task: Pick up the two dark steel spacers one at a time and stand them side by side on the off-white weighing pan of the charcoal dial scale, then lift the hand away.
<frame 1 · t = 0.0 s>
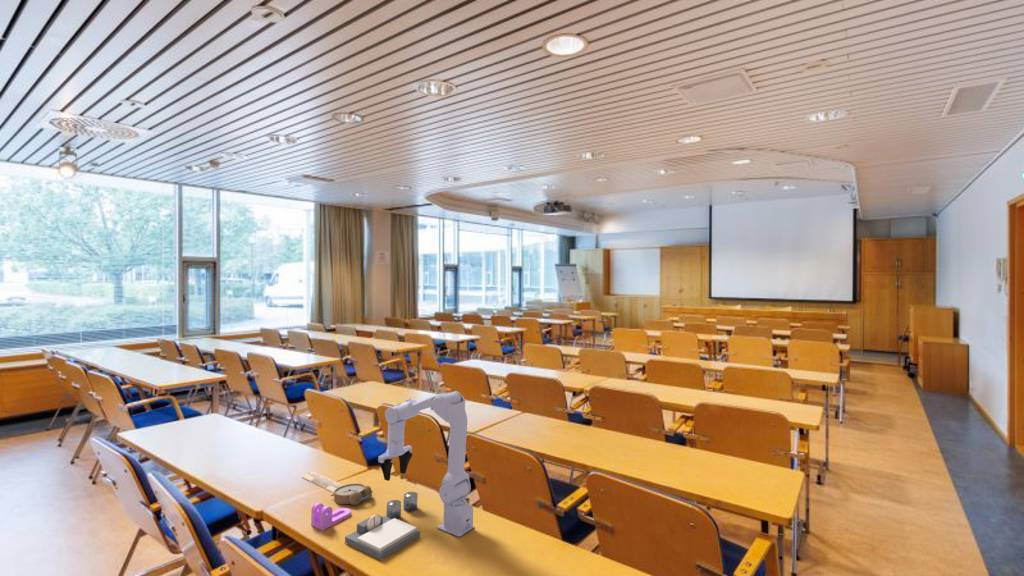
hand: (395, 476, 176), 10 cm above the table, tool pointing down, fingers open, 7 cm apart
steel spacer 1: (393, 517, 167), on the table
alarm clock: (353, 500, 180), on the table
bracket: (333, 520, 164), on the table
steel spacer 2: (410, 508, 173), on the table
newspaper: (323, 486, 192), on the table
scale: (382, 539, 152), on the table
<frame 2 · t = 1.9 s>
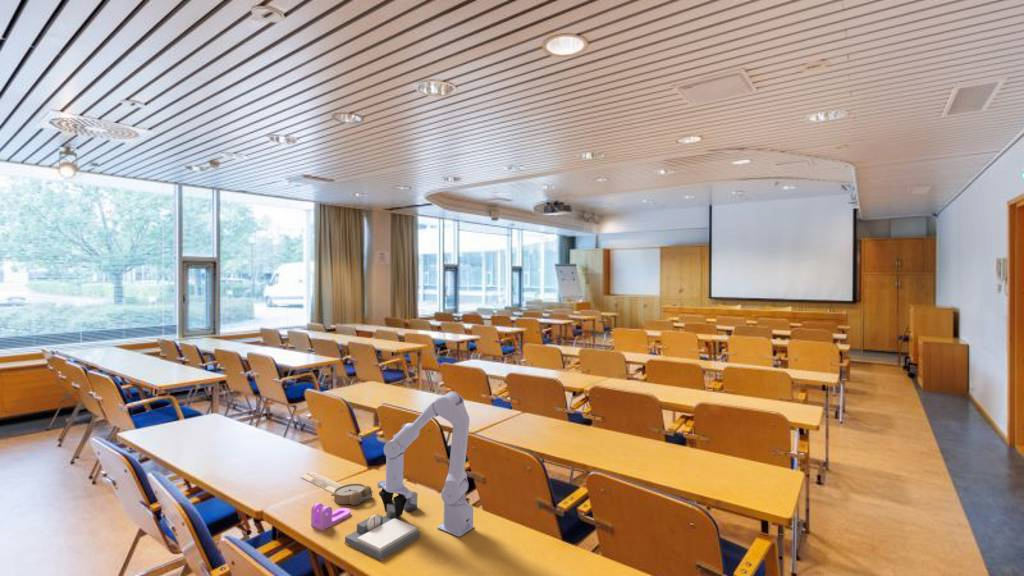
hand: (393, 513, 167), 1 cm above the table, tool pointing down, fingers closed on steel spacer 1, 5 cm apart
steel spacer 1: (393, 517, 167), on the table, touching gripper
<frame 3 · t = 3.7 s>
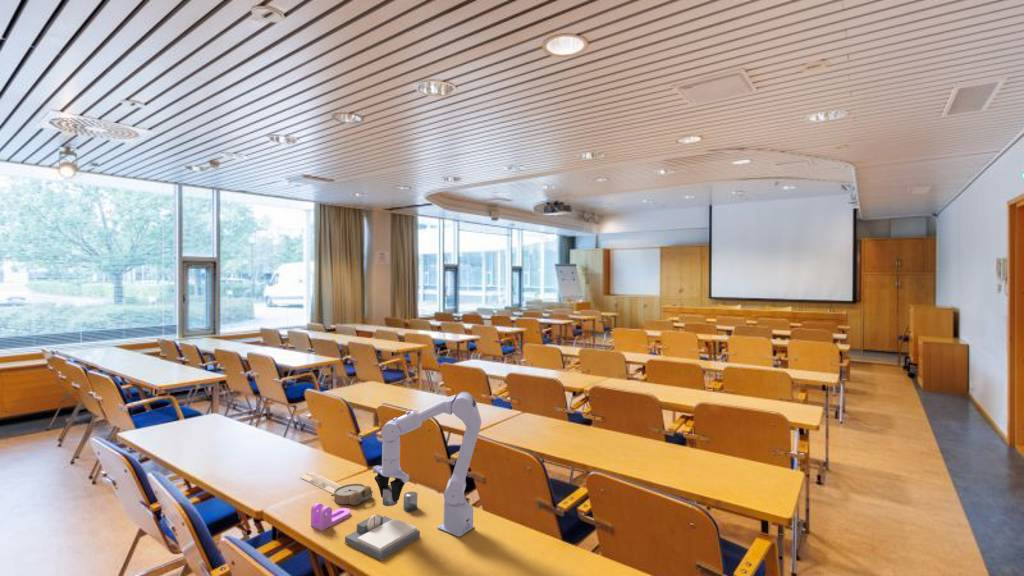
hand: (390, 498, 161), 9 cm above the table, tool pointing down, fingers closed on steel spacer 1, 5 cm apart
steel spacer 1: (390, 502, 161), point 7 cm above the table, touching gripper
when the fingers open (6 cm above the table, at t = 5.6 s): steel spacer 1 drops 1 cm, resting on scale.
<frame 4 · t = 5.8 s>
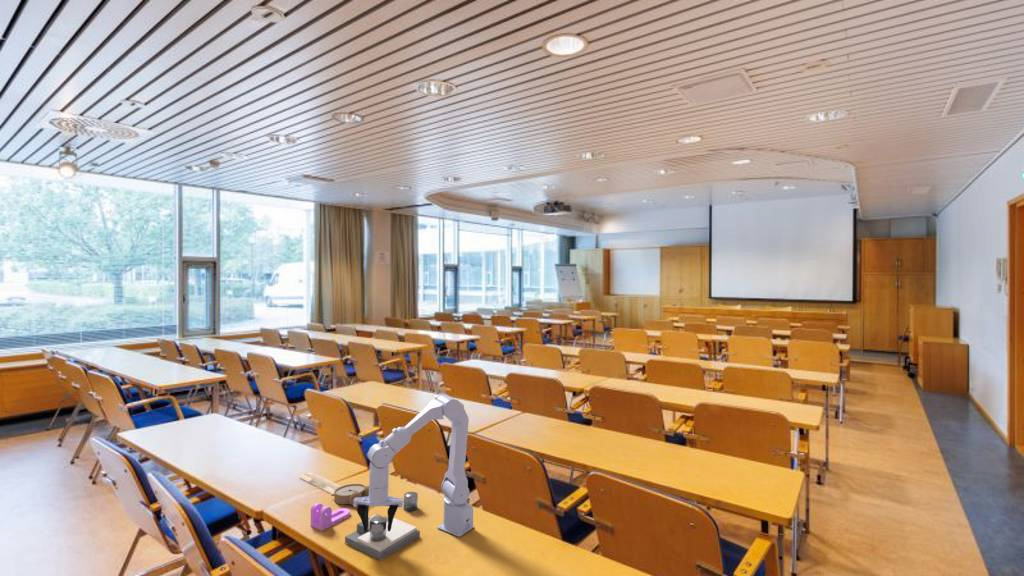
hand: (377, 529, 148), 6 cm above the table, tool pointing down, fingers open, 6 cm apart
steel spacer 1: (377, 537, 148), point 3 cm above the table, touching scale
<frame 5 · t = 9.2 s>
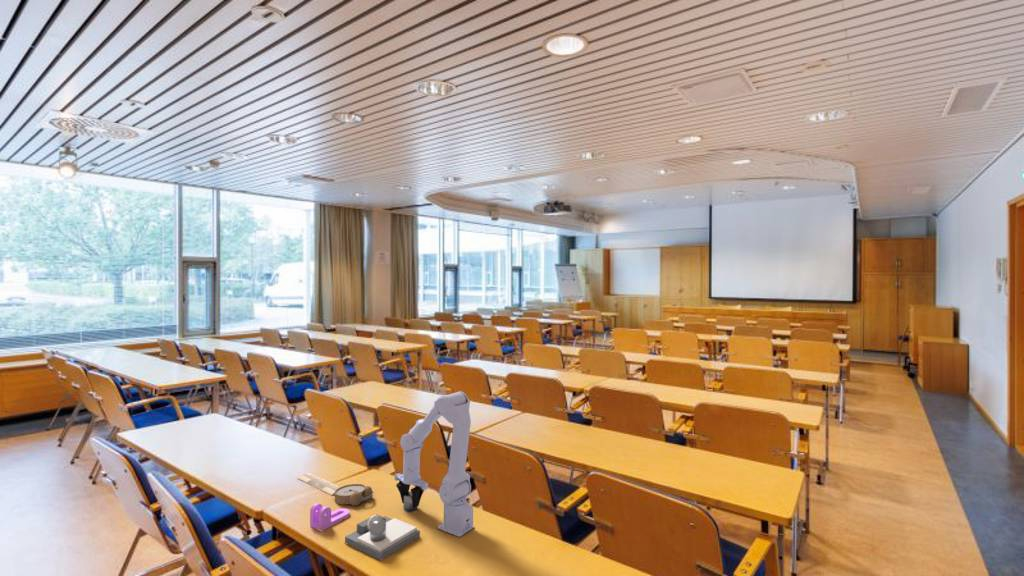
hand: (410, 504, 173), 1 cm above the table, tool pointing down, fingers closed on steel spacer 2, 5 cm apart
steel spacer 2: (410, 508, 173), on the table, touching gripper
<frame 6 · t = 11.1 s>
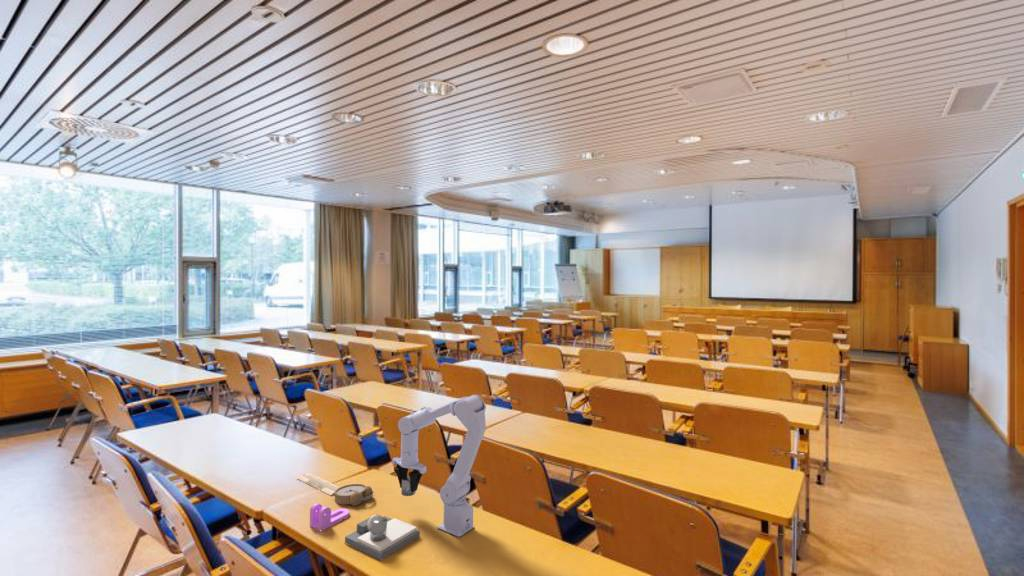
hand: (408, 488, 169), 9 cm above the table, tool pointing down, fingers closed on steel spacer 2, 5 cm apart
steel spacer 2: (408, 493, 169), point 7 cm above the table, touching gripper
when the fingers open (6 cm above the table, at t = 13.0 s): steel spacer 2 drops 1 cm, resting on scale.
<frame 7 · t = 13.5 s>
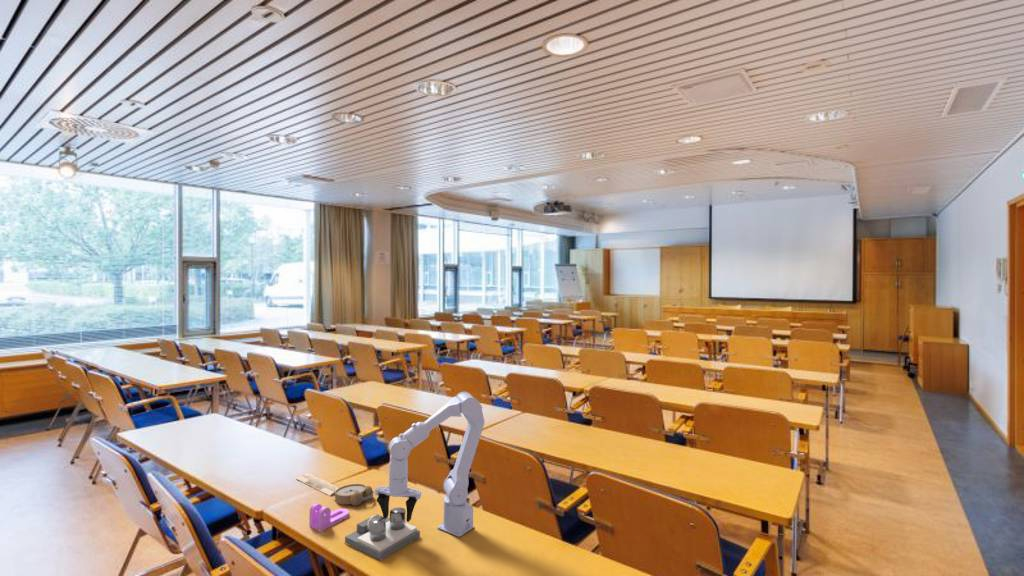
hand: (397, 518, 154), 6 cm above the table, tool pointing down, fingers open, 7 cm apart
steel spacer 2: (397, 526, 155), point 3 cm above the table, touching scale
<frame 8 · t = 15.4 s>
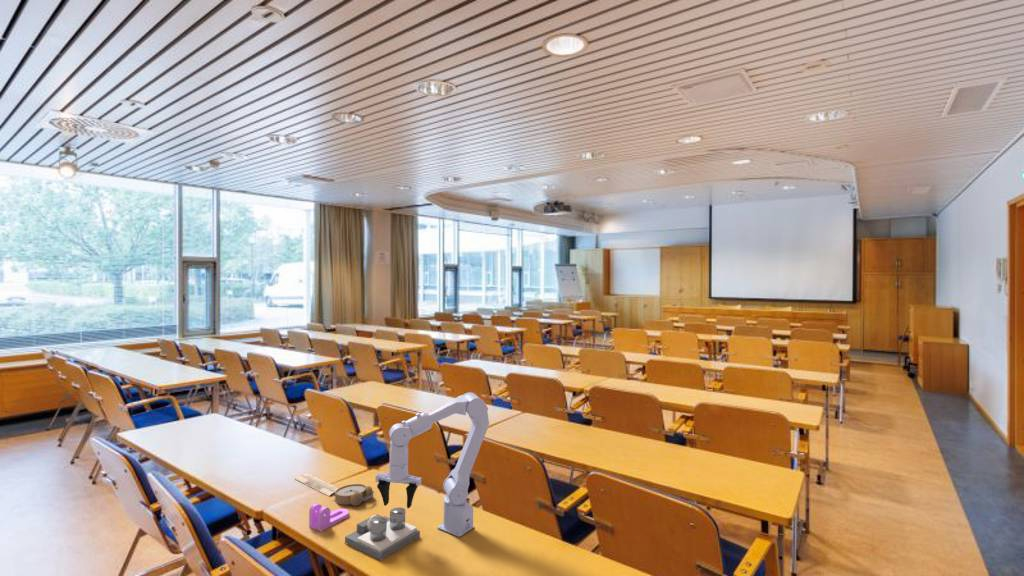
hand: (397, 505, 154), 10 cm above the table, tool pointing down, fingers open, 7 cm apart
at the end: steel spacer 1 inside the target area on the scale (3.8 cm from its centre), point 3.2 cm above the scale's base; steel spacer 2 inside the target area on the scale (4.2 cm from its centre), point 3.0 cm above the scale's base; steel spacer 2 tilted 0° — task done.
